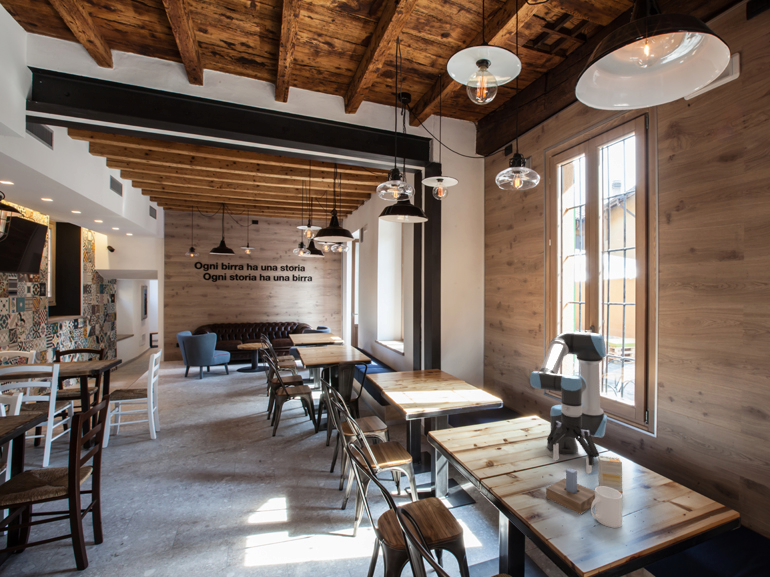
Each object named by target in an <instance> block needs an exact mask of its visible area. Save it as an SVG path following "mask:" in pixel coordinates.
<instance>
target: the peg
mask: <svg viewBox="0 0 770 577" xmlns="http://www.w3.org/2000/svg"><path fill="white" fill-rule="evenodd" d="M565 479H566V491H568V492H570V493H573V494H576V493H577V484H578V470H577V469H575V468H572V467H569V468H567V469H565Z"/></svg>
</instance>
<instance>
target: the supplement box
mask: <svg viewBox="0 0 770 577" xmlns="http://www.w3.org/2000/svg"><path fill="white" fill-rule="evenodd" d="M597 459H598V460H597V464H598V465H597V467H598V468H597V469H598V470H597V471H598V475H597V476H598V477H597V478H598V486H605V487H610V488H613V489H615V490H617V491H619V492H620V493H621V494H623V463H622V461H621V459H620V458H618V457H614V456H613V457H612V456H603V455H599V456H598V457H597Z"/></svg>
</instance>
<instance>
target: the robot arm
mask: <svg viewBox="0 0 770 577" xmlns="http://www.w3.org/2000/svg"><path fill="white" fill-rule="evenodd" d="M547 348H548V350H547V353H546V355H545V357H544V360H543V362H542V364H541V366H540V369H539V370H536V371H534V370H533V371H532V372H531V373H530V376H529V377H530V378H529V383H530V386H531V387H532V388H534V389H539V390H545V391H553V392H559V393H560V394H561V396H560V398H561V400H560V404H555V405H553V406H551V408H550V432H549V434H548V436H547V439H546V440H547V443H546V446H547V449H548V450H550V451H551V452H552V454H553V461H557V460H559V459H560V456H559V454H561V455H569V456H570V455H576V454H578V452H579V446H578V443H579V444H580V446H581V447H582V449H583V450H584V453H586V456H585V461H586V462H585V463H586V464H585V468H586V469H585V472H586V474H591V473H592V467H593V466H594V464H595V458H598V456H600V454H599V451H598V449H597V447H596V445H595V442H594V439H593V438H594V437H596V438H603V437H605V434H606V429H607V422H608V415H606V413H605V411H604V409H603V408H602V407H601V393H600V392H601V390H600V387H601V384H600V363H601V362H603V358H606V355H607V352H606V351H607V350H606V348H607V347H606V343H605V338H604V337H603V335H602V334H601V333H595V332H580V331H579V332H578V331H565V332H562V333H560V334H558V335H557V336H555V337H554V338H552V339H551V340H550V342H549V343H548V347H547ZM567 355H576V359H577V360H578V361H579V362H580V363H579V368H580V373H579V374H575V373H574V374H558V373H559V370H560V368H561V366H562V362H563V361H564V358H565V357H566V356H567ZM604 413H605V414H604ZM577 442H578V443H577Z"/></svg>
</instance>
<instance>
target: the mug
mask: <svg viewBox="0 0 770 577" xmlns="http://www.w3.org/2000/svg"><path fill="white" fill-rule="evenodd" d="M594 491H595V499H594V500H593V502H592V505H591V508H590V512H591V516H592V517H593V519H595V520H597V522H598V523H600V524H601V525H603V526H605V527H609V528H613V529H617V528H620V527H622V526H623V493H620V492H619V491H617V490H615V489H613V488H610V487H605V486H599V485H598V486H595V488H594ZM593 508H594V512H593Z"/></svg>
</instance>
